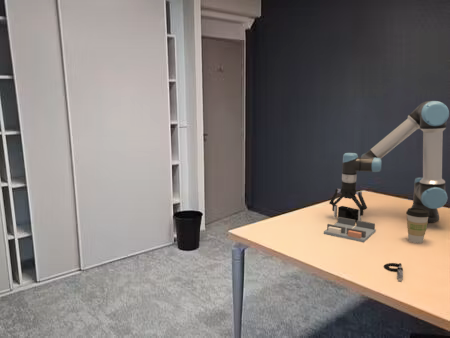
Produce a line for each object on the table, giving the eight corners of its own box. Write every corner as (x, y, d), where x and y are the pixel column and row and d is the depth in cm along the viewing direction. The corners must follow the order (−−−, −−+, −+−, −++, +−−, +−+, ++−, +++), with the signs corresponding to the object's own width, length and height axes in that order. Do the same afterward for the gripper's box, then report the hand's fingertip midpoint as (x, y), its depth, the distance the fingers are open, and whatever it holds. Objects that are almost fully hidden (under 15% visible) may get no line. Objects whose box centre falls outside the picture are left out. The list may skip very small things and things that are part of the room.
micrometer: (383, 264, 158) (384, 258, 158) (402, 266, 155) (403, 260, 155) (382, 279, 145) (382, 273, 144) (403, 283, 142) (403, 276, 142)
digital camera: (336, 219, 215) (336, 207, 214) (341, 217, 219) (342, 205, 217) (352, 223, 207) (353, 211, 206) (358, 221, 211) (358, 209, 209)
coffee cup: (418, 246, 175) (420, 214, 173) (399, 239, 184) (401, 209, 181) (432, 242, 180) (434, 211, 177) (413, 235, 188) (415, 206, 186)
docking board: (375, 231, 195) (376, 223, 194) (363, 242, 181) (364, 233, 180) (337, 224, 207) (337, 216, 206) (323, 233, 193) (323, 225, 192)
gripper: (324, 179, 213) (322, 216, 217) (370, 185, 198) (367, 225, 202) (329, 177, 219) (328, 213, 223) (374, 183, 204) (372, 221, 208)
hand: (347, 219), depth 212 cm, fingers open, 13 cm apart
